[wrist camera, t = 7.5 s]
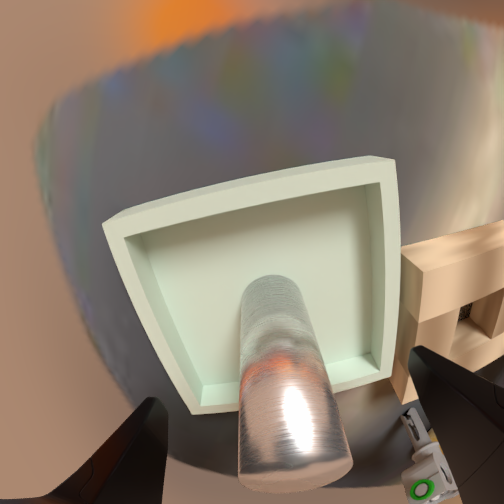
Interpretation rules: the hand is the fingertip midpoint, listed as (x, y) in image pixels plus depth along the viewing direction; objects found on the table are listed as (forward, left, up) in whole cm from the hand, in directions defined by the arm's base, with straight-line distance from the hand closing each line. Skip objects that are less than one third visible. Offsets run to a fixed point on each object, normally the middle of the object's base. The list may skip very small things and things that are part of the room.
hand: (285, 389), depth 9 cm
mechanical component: (-10, +16, -7) cm, 20 cm away
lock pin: (0, 0, -6) cm, 6 cm away
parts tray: (0, 0, -6) cm, 6 cm away
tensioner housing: (-12, +4, -6) cm, 14 cm away
